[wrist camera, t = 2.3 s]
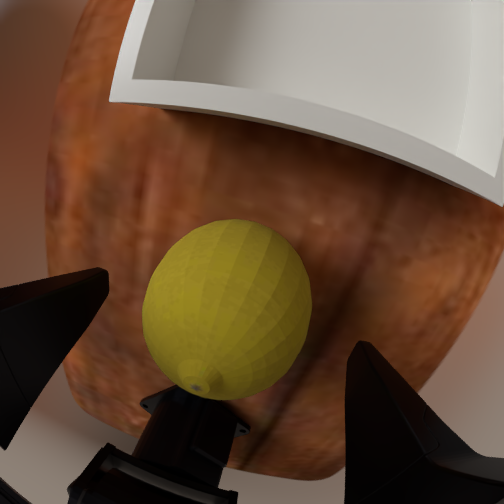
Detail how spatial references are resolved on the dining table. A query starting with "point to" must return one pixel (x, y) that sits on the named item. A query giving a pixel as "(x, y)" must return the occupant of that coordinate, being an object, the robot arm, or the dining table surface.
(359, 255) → the dining table surface
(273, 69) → the box
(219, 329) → the lemon
